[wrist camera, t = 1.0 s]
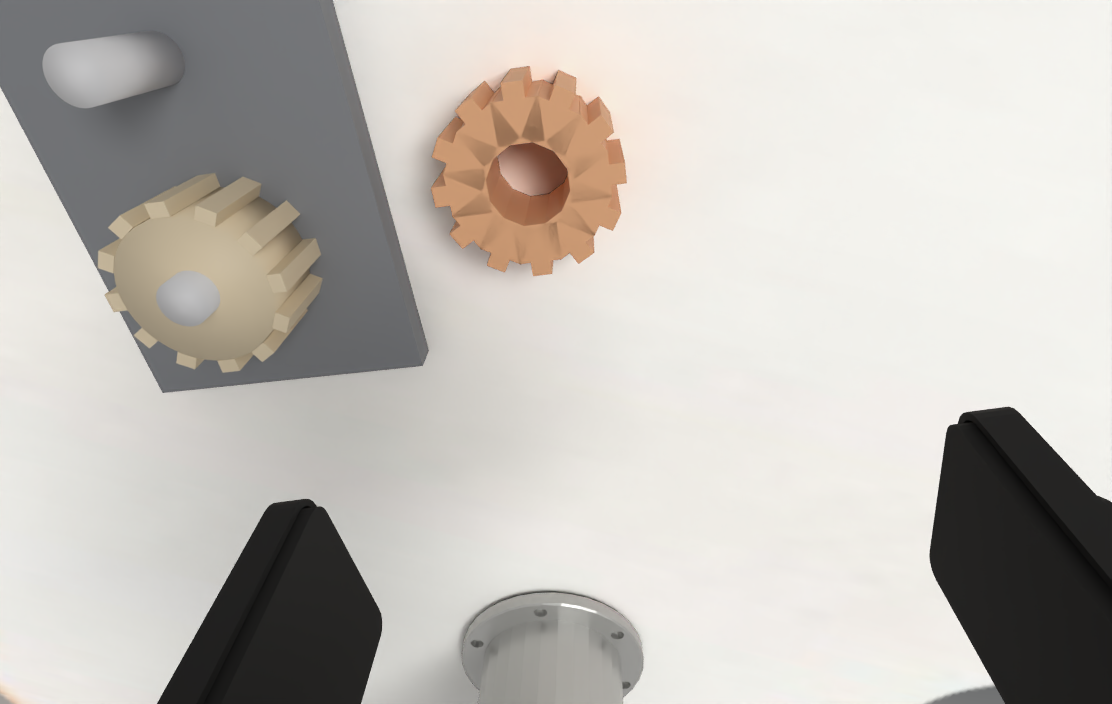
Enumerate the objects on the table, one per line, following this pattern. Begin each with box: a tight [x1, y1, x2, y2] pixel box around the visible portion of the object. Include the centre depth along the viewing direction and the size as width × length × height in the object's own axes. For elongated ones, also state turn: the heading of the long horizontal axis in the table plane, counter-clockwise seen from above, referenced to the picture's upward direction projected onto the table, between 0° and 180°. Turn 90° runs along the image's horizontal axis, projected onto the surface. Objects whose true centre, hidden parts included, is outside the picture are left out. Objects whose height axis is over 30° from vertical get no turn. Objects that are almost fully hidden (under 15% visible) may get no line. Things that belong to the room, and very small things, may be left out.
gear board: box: [0, 0, 429, 393], centre depth 26 cm, size 22×14×6 cm, turn 8°
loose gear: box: [431, 66, 627, 276], centre depth 27 cm, size 8×8×4 cm
